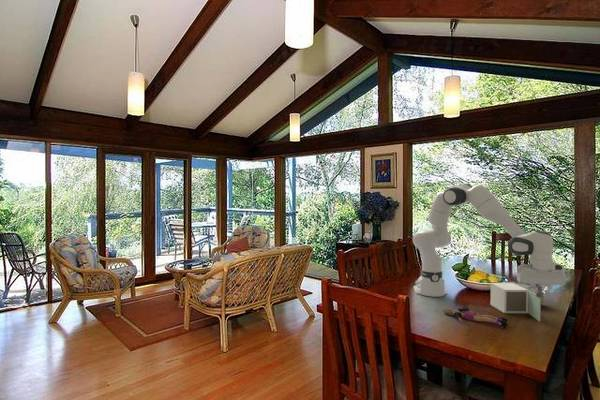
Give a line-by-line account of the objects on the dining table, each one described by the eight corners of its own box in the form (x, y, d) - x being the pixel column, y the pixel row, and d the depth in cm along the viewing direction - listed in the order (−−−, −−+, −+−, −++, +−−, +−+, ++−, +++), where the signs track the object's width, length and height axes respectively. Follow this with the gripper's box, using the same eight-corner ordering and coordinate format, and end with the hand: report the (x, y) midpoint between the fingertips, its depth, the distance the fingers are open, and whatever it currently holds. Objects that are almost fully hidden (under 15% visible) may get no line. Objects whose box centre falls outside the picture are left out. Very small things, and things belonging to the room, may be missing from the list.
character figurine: (509, 323, 168) (448, 308, 186) (509, 314, 168) (449, 300, 186) (502, 336, 152) (436, 319, 170) (502, 326, 152) (437, 310, 170)
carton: (490, 304, 192) (490, 283, 191) (512, 304, 191) (512, 283, 191) (504, 313, 178) (504, 289, 178) (528, 313, 178) (528, 290, 178)
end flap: (537, 321, 166) (537, 286, 165) (525, 312, 178) (526, 280, 178) (542, 322, 165) (543, 287, 165) (531, 313, 177) (531, 280, 177)
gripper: (521, 265, 164) (520, 294, 164) (568, 266, 162) (567, 296, 162) (514, 262, 170) (513, 290, 171) (559, 263, 168) (559, 292, 168)
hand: (540, 293), depth 166 cm, fingers open, 3 cm apart
